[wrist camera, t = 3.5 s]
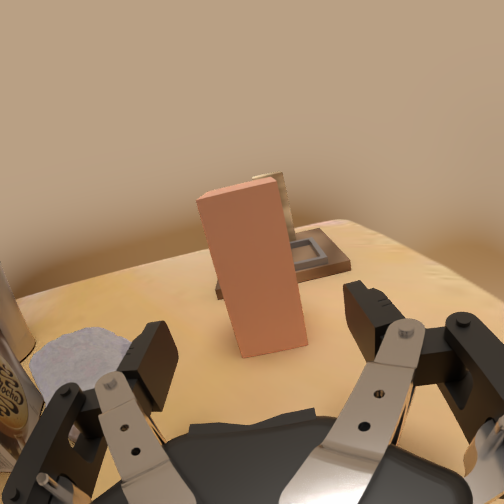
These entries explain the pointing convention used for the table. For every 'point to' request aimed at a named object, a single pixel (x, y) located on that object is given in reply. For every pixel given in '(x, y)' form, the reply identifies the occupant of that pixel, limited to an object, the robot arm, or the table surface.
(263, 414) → the table surface
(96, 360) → the stone block
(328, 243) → the brown board
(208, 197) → the terracotta pillar
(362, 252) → the table surface
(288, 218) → the birch column
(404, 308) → the table surface
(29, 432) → the coffee box
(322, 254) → the slot frame
